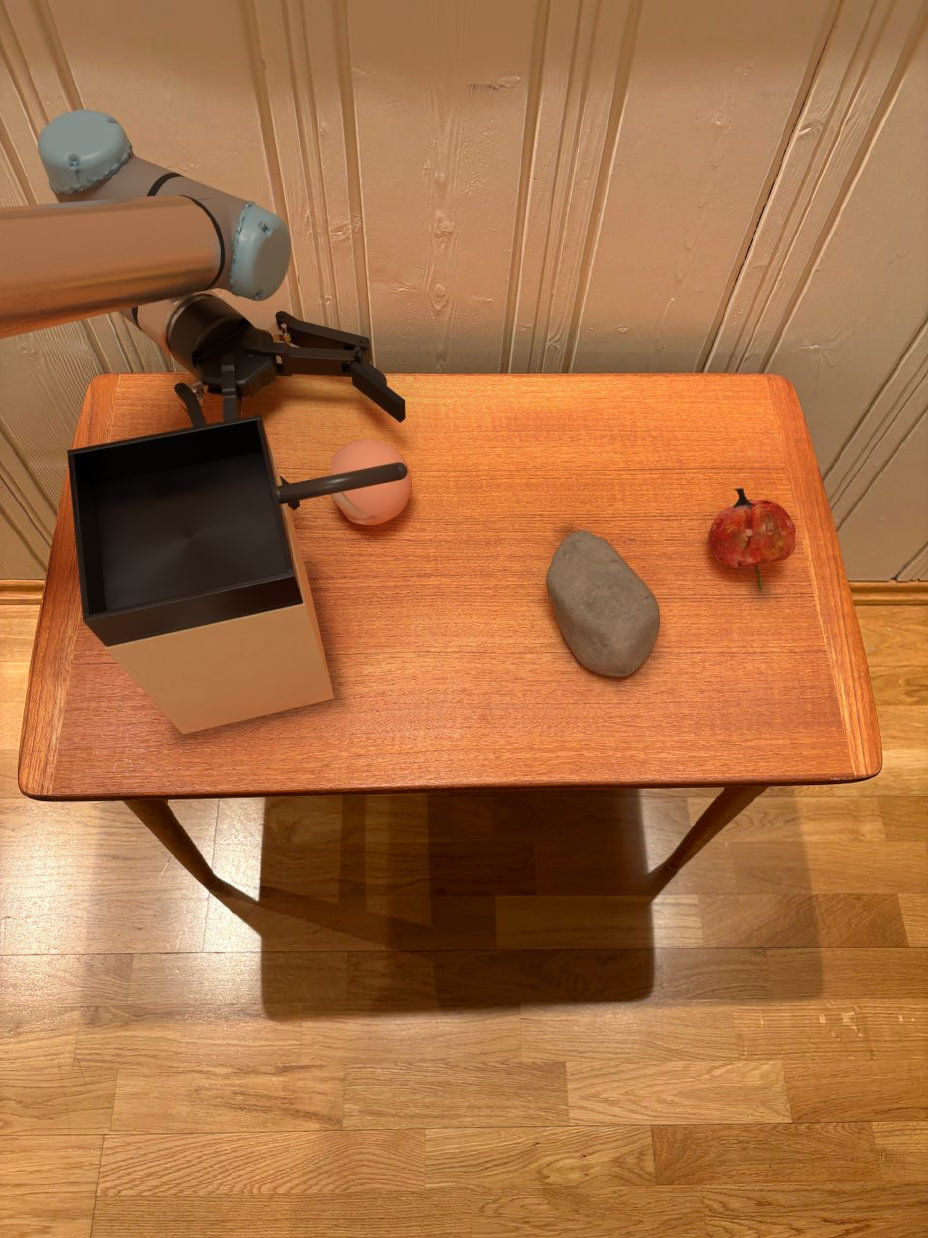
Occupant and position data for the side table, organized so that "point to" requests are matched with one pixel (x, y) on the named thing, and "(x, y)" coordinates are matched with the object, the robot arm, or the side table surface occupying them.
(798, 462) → the side table surface
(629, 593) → the stone
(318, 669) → the stand
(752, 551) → the pomegranate
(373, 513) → the toy ball
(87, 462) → the pan
